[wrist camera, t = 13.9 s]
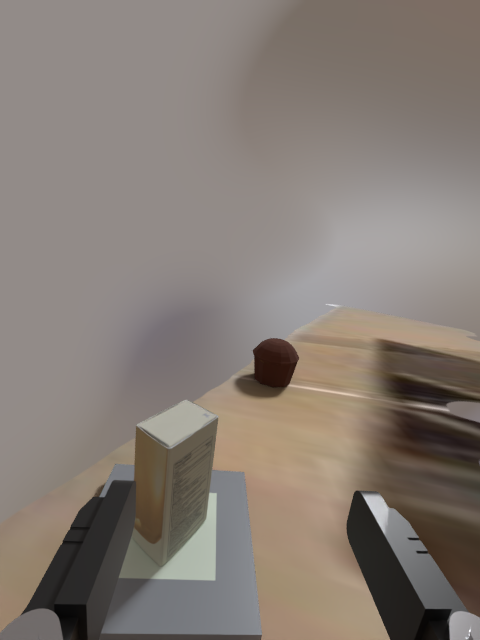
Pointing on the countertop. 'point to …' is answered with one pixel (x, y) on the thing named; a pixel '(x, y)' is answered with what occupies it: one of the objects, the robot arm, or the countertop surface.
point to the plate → (191, 576)
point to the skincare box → (172, 477)
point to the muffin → (275, 362)
